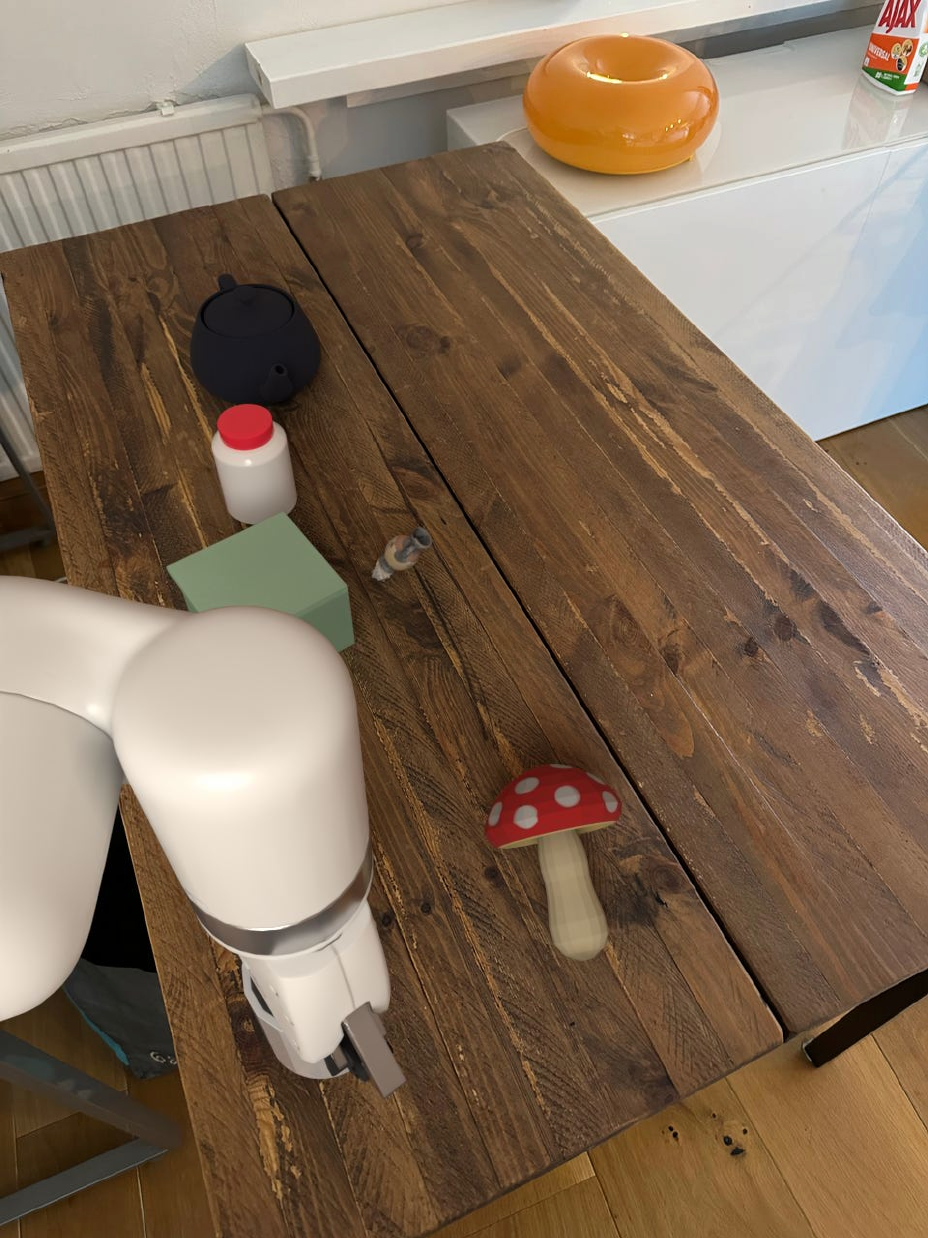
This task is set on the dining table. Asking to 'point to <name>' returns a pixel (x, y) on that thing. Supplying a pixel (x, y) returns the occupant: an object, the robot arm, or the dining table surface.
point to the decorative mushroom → (559, 845)
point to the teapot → (253, 344)
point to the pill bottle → (253, 464)
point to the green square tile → (259, 571)
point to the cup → (282, 1035)
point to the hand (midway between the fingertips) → (318, 993)
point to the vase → (401, 553)
